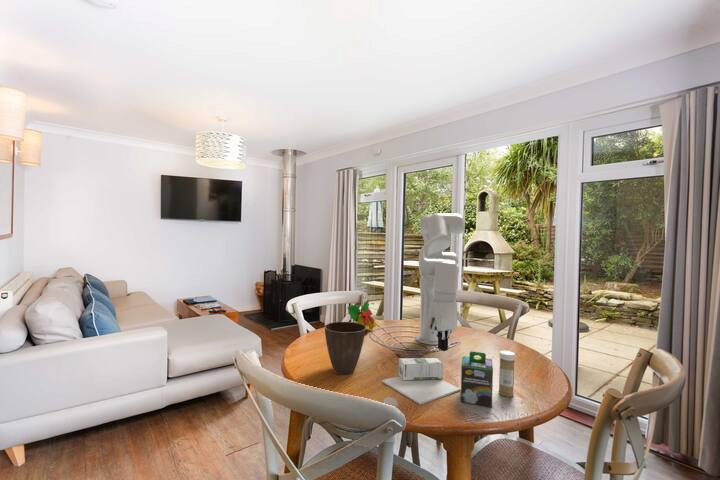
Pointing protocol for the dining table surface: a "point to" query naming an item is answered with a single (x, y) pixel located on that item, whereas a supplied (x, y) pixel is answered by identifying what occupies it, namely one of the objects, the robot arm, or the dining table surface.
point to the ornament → (362, 316)
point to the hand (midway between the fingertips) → (442, 349)
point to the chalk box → (477, 379)
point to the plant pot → (344, 345)
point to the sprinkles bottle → (506, 373)
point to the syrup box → (420, 368)
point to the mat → (421, 388)
